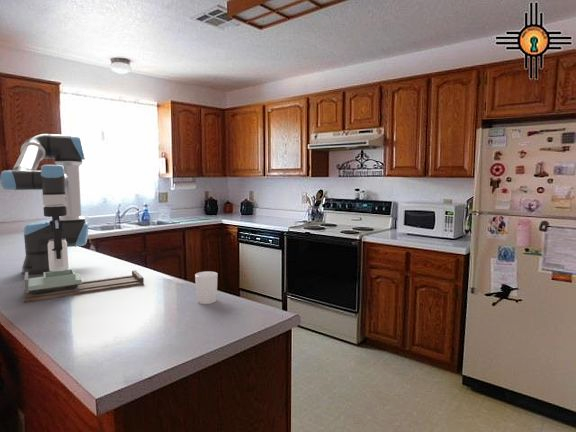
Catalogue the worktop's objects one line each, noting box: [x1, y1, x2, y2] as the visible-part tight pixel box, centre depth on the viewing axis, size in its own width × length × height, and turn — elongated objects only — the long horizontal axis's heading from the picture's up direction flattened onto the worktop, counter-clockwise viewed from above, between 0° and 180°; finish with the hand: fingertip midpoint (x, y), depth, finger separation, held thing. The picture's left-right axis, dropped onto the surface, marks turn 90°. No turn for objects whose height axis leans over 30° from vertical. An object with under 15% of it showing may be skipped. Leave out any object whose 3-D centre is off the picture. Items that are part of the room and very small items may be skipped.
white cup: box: [194, 271, 218, 305], centre depth 139 cm, size 8×8×10 cm
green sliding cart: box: [24, 268, 83, 294], centre depth 149 cm, size 13×18×6 cm
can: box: [48, 238, 70, 272], centre depth 149 cm, size 6×6×12 cm
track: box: [23, 269, 145, 303], centre depth 155 cm, size 15×41×3 cm, turn 123°
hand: (58, 265), depth 149 cm, fingers closed on can, 6 cm apart
